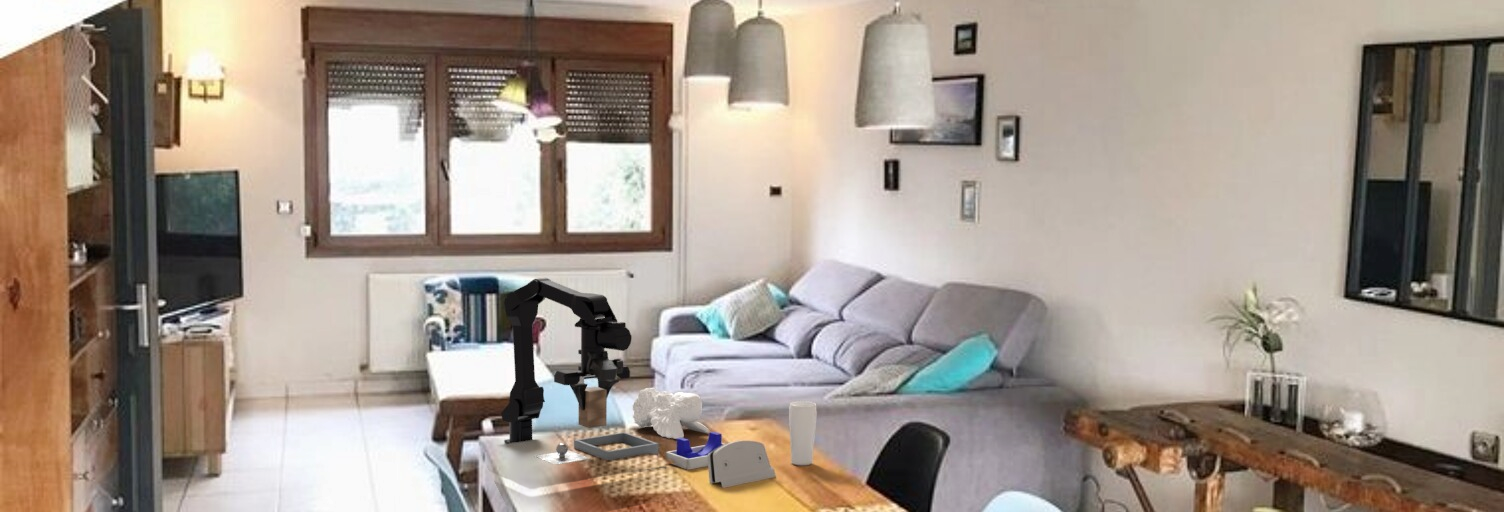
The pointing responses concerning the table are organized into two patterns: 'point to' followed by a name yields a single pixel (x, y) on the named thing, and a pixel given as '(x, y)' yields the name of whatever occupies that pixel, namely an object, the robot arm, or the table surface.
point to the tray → (636, 448)
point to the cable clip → (711, 445)
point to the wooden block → (594, 408)
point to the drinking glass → (802, 431)
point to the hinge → (739, 463)
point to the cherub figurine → (668, 412)
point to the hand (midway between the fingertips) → (592, 408)
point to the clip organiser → (686, 462)
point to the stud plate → (561, 456)
